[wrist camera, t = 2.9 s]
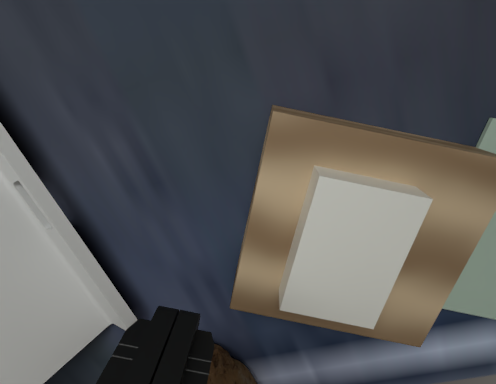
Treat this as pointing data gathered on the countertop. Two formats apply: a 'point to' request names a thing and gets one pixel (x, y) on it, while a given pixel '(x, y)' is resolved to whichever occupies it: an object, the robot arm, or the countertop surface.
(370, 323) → the pale grey rectangular block
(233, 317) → the countertop surface
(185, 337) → the robot arm
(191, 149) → the countertop surface
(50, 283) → the tablet stand
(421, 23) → the countertop surface
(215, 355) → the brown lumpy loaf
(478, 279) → the mat
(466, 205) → the board
